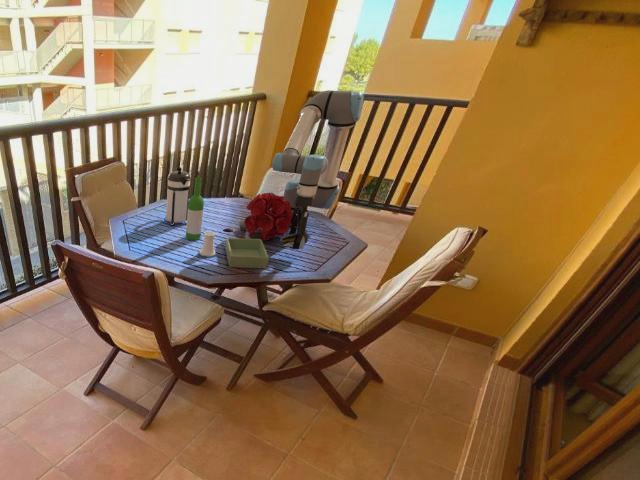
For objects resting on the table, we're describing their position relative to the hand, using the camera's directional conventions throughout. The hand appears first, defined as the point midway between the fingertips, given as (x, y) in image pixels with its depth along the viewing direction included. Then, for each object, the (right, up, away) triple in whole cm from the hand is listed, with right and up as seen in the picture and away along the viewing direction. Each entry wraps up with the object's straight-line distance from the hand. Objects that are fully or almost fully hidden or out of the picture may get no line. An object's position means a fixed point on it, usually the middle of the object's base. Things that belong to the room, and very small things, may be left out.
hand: (292, 244), depth 179 cm
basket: (-21, -5, +4) cm, 22 cm away
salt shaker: (+1, +28, +49) cm, 57 cm away
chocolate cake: (0, -1, 0) cm, 1 cm away
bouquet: (-6, +10, +26) cm, 28 cm away
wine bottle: (-42, +10, +25) cm, 50 cm away
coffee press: (-49, +24, +46) cm, 71 cm away
